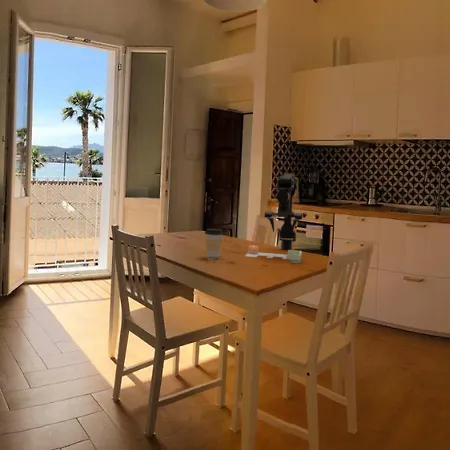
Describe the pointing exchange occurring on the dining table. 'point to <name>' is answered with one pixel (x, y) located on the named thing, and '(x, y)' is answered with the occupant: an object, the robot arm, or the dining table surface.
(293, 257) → the deck
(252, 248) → the pink short cylinder
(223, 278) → the dining table surface
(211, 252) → the coffee cup
